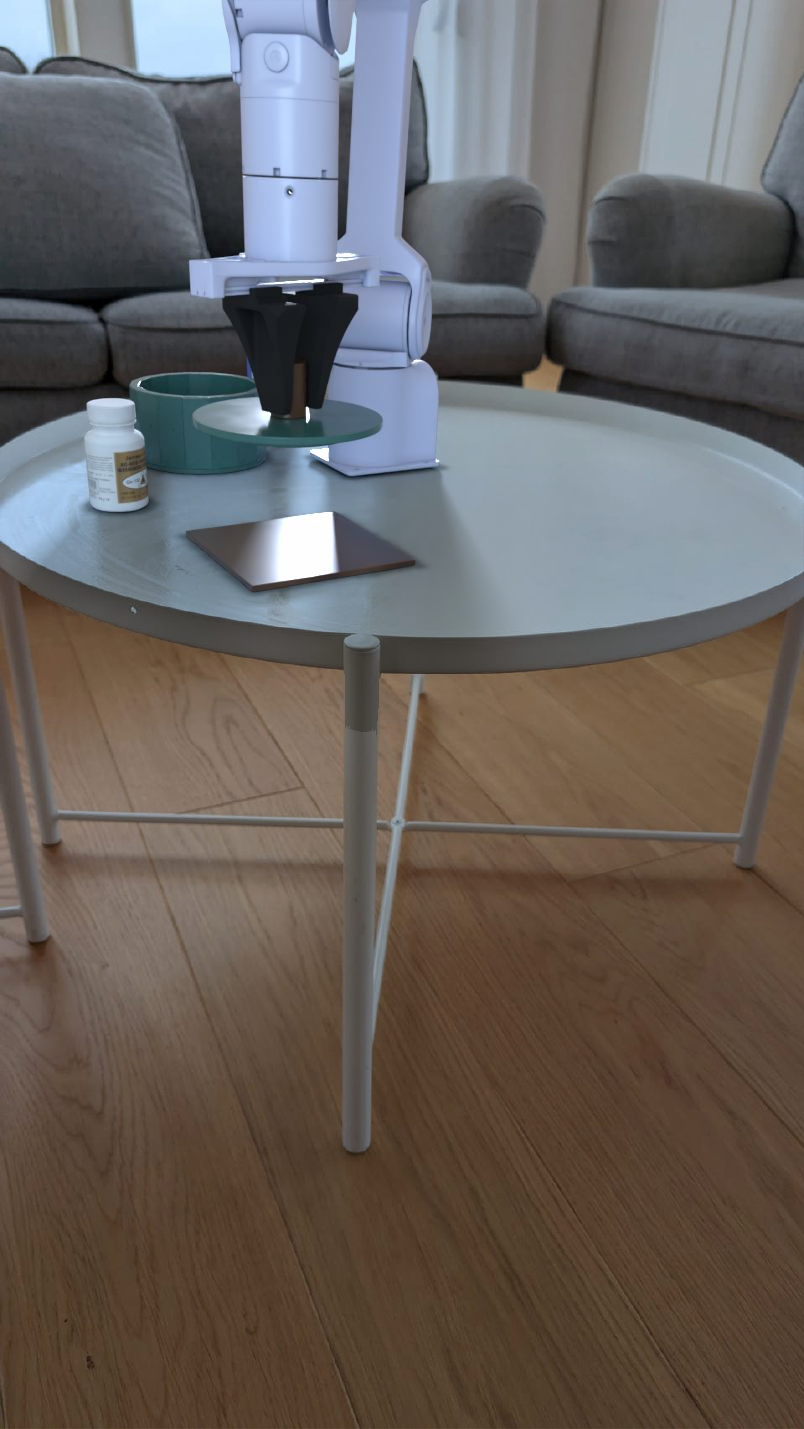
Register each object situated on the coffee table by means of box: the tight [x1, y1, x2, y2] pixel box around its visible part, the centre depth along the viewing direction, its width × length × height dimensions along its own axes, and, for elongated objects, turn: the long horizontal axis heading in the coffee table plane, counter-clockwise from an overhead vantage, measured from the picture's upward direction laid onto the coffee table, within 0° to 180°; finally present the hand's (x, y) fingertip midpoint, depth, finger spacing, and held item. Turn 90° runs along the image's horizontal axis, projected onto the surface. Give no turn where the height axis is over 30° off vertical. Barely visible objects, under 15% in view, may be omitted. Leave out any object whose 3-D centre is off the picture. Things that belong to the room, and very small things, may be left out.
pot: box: [128, 371, 267, 475], centre depth 92 cm, size 12×12×6 cm
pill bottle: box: [83, 397, 150, 513], centre depth 78 cm, size 4×4×8 cm
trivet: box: [185, 510, 416, 593], centre depth 72 cm, size 12×12×1 cm
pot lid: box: [192, 358, 383, 449], centre depth 68 cm, size 13×13×5 cm
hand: (292, 409), depth 68 cm, fingers closed on pot lid, 2 cm apart
